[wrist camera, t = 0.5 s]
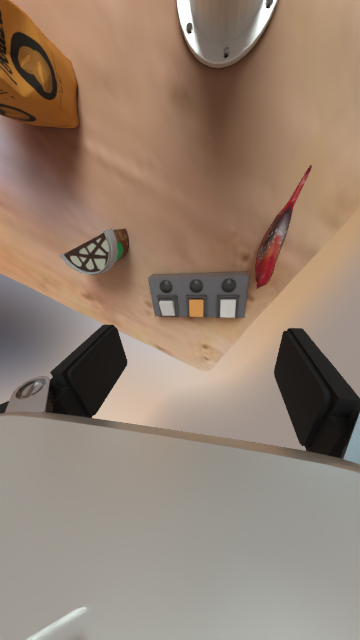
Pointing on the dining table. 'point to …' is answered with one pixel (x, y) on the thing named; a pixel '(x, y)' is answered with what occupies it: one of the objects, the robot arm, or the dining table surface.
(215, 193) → the dining table surface
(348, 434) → the robot arm
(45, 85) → the coffee package
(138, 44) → the dining table surface
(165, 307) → the rocker
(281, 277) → the dining table surface
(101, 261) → the food container
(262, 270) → the decorative bird figurine
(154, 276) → the rocker switch panel
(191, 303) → the middle rocker
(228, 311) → the rocker
